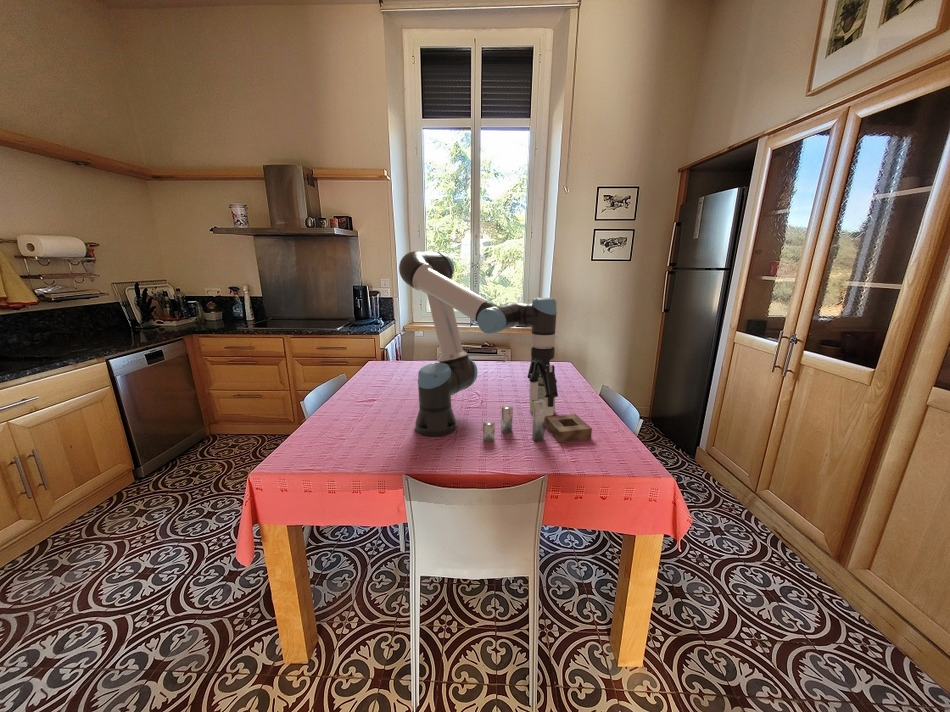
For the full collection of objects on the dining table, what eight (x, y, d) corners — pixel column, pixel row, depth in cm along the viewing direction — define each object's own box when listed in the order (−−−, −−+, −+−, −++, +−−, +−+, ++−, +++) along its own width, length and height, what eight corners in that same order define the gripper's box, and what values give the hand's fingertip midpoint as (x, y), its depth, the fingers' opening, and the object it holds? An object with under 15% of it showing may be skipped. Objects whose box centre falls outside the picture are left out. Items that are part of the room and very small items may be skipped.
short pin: (484, 442, 120) (484, 426, 119) (481, 437, 124) (481, 421, 122) (495, 441, 121) (496, 425, 119) (492, 436, 125) (493, 420, 123)
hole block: (558, 442, 120) (559, 431, 119) (545, 426, 132) (545, 416, 131) (591, 438, 123) (592, 428, 122) (574, 423, 134) (575, 414, 133)
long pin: (534, 442, 121) (536, 404, 117) (530, 436, 125) (532, 399, 121) (545, 440, 122) (547, 403, 118) (541, 435, 125) (543, 398, 122)
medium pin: (502, 433, 127) (503, 410, 124) (499, 428, 130) (500, 406, 128) (513, 432, 127) (514, 409, 125) (510, 427, 131) (510, 405, 129)
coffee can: (533, 405, 151) (534, 373, 148) (557, 409, 147) (559, 377, 144) (526, 414, 142) (527, 381, 139) (551, 419, 138) (553, 385, 135)
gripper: (571, 354, 103) (567, 421, 109) (539, 337, 127) (537, 393, 132) (547, 356, 102) (544, 423, 107) (519, 338, 125) (518, 394, 131)
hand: (540, 407), depth 120 cm, fingers open, 13 cm apart
